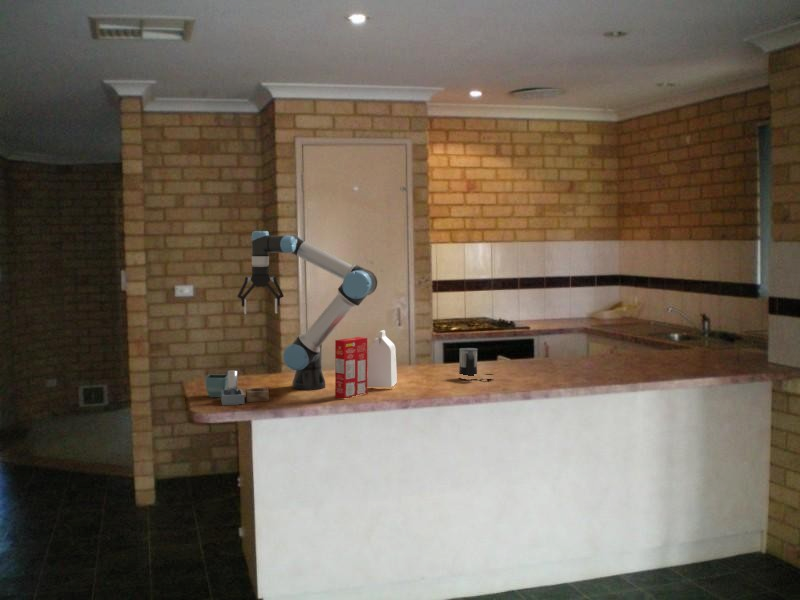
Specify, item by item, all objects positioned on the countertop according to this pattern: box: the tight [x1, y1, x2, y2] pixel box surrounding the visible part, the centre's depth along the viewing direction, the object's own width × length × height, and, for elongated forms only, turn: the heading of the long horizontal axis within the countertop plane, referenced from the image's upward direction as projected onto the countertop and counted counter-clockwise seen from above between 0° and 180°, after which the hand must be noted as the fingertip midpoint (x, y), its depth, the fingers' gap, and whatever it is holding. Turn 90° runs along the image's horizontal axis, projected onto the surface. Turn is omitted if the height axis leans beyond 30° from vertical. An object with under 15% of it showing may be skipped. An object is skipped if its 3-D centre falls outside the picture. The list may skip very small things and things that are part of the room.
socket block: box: [245, 387, 270, 403], centre depth 361 cm, size 9×9×4 cm
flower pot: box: [204, 374, 228, 399], centre depth 366 cm, size 9×9×9 cm
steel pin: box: [227, 369, 239, 395], centre depth 355 cm, size 4×4×12 cm
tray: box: [220, 388, 245, 406], centre depth 355 cm, size 9×13×4 cm
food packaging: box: [334, 336, 368, 399], centre depth 368 cm, size 15×5×25 cm, turn 141°
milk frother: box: [458, 347, 494, 376], centre depth 411 cm, size 14×16×15 cm
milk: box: [367, 329, 398, 387], centre depth 390 cm, size 12×12×26 cm
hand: (260, 313), depth 377 cm, fingers open, 13 cm apart
